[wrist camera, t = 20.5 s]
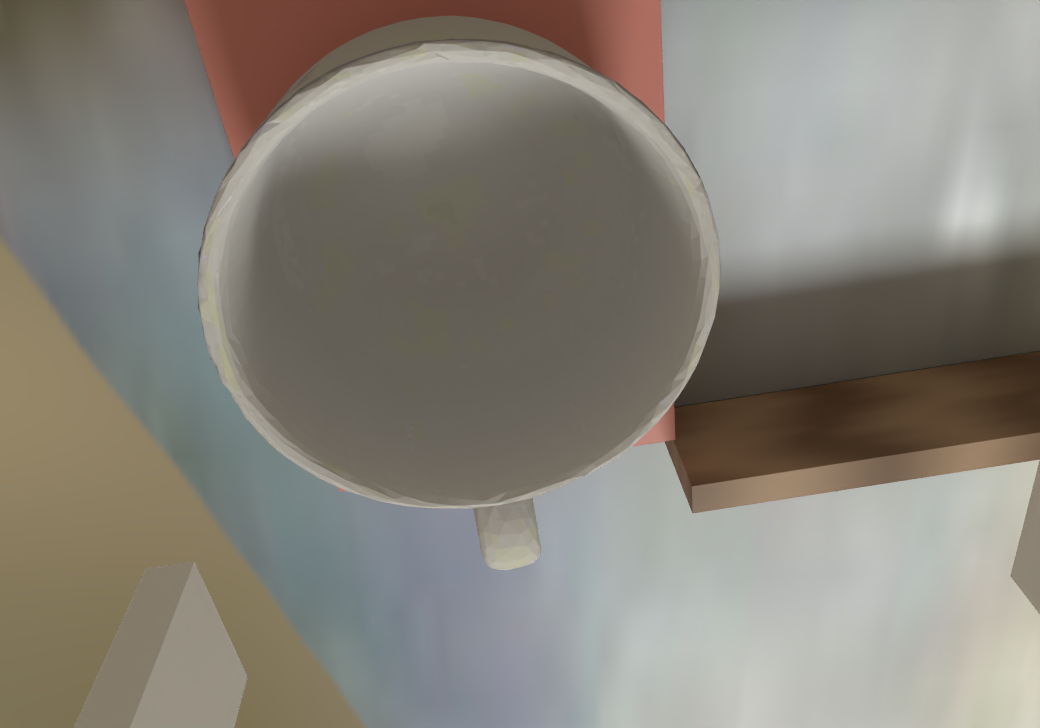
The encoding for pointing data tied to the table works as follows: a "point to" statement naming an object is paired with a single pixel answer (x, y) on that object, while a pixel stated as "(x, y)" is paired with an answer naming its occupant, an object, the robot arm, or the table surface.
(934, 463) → the crate
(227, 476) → the table surface
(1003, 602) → the table surface
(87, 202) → the table surface
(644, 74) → the pink flat slab
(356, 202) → the teacup
